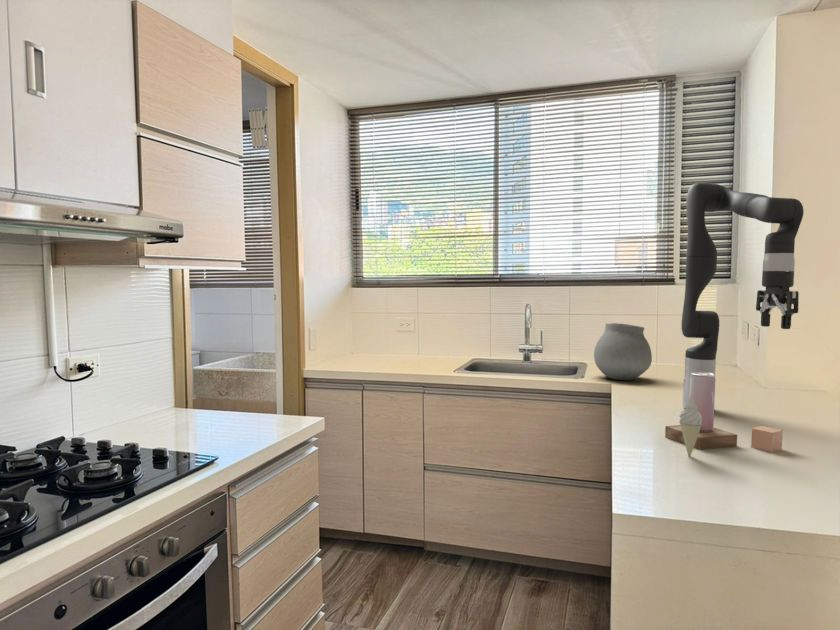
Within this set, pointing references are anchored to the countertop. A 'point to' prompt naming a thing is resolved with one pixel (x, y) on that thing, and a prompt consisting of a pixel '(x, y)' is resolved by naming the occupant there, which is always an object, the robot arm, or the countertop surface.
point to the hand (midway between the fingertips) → (775, 327)
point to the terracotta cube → (766, 439)
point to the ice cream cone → (690, 424)
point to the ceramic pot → (622, 352)
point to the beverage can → (704, 397)
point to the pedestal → (704, 437)
